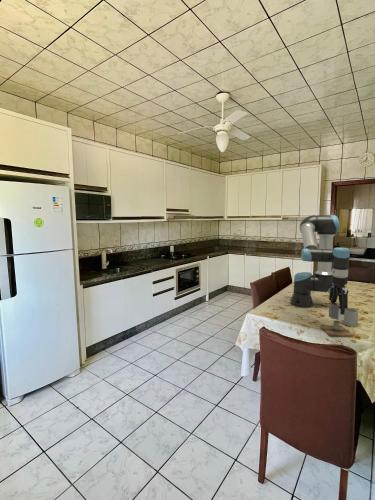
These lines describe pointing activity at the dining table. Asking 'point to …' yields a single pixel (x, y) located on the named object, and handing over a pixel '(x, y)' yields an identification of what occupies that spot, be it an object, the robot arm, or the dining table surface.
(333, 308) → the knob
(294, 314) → the dining table surface
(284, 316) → the dining table surface
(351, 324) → the cup
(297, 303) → the robot arm
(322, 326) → the shaft block
